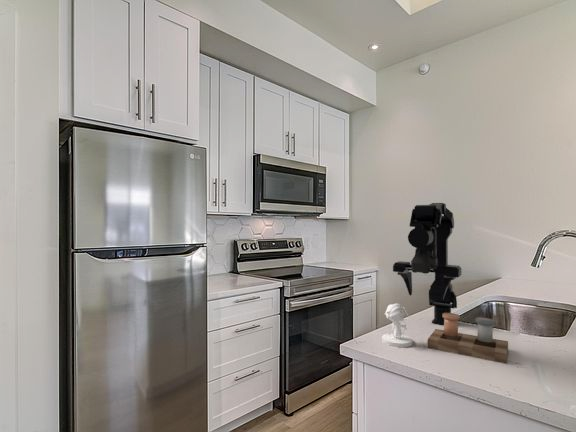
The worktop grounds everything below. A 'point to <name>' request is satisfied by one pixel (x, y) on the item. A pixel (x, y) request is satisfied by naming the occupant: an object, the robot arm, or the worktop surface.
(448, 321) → the plug terracotta
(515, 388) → the worktop surface
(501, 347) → the socket board
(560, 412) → the worktop surface
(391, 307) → the figurine
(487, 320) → the plug grey
